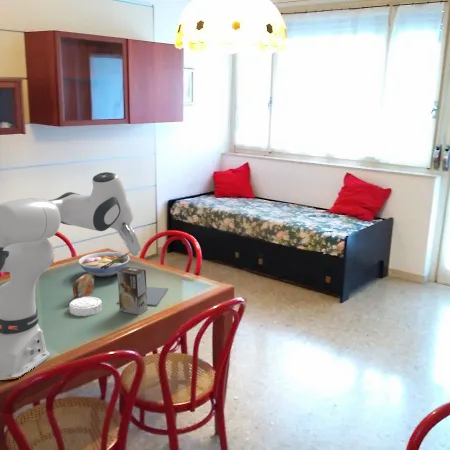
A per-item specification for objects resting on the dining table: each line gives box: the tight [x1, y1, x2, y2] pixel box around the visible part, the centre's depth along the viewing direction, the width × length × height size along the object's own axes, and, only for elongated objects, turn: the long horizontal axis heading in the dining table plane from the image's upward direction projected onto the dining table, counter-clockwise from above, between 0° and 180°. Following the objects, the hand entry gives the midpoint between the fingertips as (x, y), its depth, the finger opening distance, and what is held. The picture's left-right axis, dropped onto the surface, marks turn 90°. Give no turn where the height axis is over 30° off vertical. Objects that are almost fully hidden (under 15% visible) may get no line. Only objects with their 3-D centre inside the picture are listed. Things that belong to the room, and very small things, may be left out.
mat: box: [116, 286, 169, 307], centre depth 211 cm, size 18×16×1 cm
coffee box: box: [116, 266, 148, 316], centre depth 196 cm, size 9×6×16 cm
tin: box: [72, 273, 96, 300], centre depth 210 cm, size 15×3×8 cm, turn 168°
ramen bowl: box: [78, 251, 131, 278], centre depth 235 cm, size 25×23×8 cm
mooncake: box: [68, 296, 103, 317], centre depth 198 cm, size 12×12×4 cm
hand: (129, 246), depth 174 cm, fingers open, 8 cm apart
